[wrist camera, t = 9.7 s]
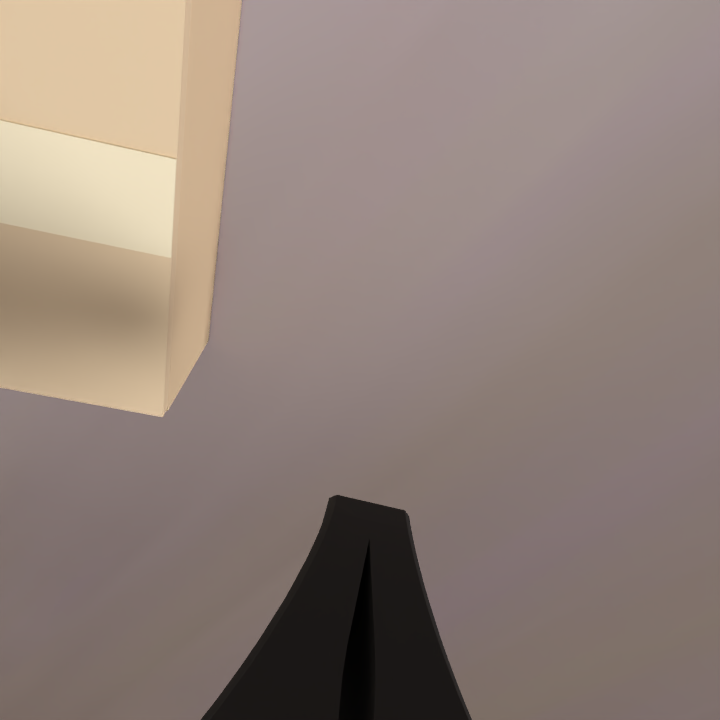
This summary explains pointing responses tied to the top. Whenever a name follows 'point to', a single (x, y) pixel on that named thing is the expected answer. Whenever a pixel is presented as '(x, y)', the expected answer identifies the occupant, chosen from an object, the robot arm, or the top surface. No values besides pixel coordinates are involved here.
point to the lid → (91, 196)
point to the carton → (202, 178)
